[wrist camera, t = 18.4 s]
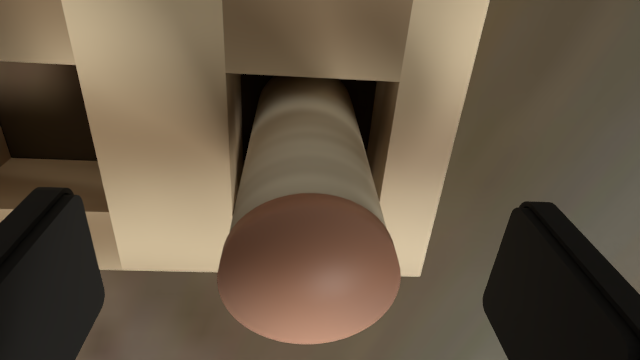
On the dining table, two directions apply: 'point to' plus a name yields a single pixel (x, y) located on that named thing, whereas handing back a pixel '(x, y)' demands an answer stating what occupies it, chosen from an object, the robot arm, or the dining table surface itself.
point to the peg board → (235, 109)
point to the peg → (307, 221)
